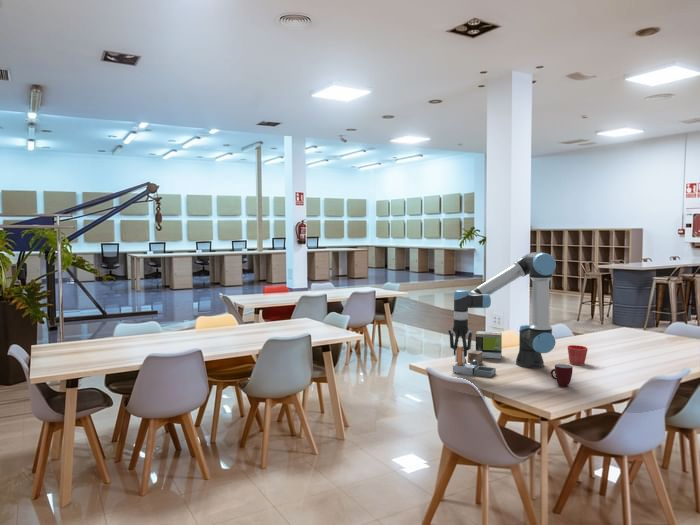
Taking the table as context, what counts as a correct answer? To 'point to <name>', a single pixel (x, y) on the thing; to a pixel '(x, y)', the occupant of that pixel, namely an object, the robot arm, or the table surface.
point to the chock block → (475, 356)
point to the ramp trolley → (466, 367)
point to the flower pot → (577, 354)
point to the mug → (562, 374)
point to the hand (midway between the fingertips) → (460, 361)
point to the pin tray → (485, 371)
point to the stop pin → (459, 355)
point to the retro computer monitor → (489, 344)
